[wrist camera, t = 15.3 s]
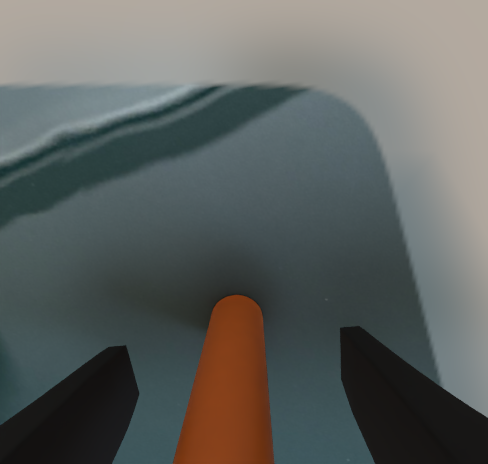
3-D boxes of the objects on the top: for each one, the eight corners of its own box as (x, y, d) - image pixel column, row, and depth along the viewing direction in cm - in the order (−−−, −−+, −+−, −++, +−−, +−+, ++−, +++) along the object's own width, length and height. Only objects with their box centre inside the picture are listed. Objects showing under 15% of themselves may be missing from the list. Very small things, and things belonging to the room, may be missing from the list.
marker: (261, 290, 11) (309, 872, 2) (266, 338, 11) (320, 945, 2) (206, 295, 11) (20, 860, 2) (214, 342, 11) (95, 935, 3)
